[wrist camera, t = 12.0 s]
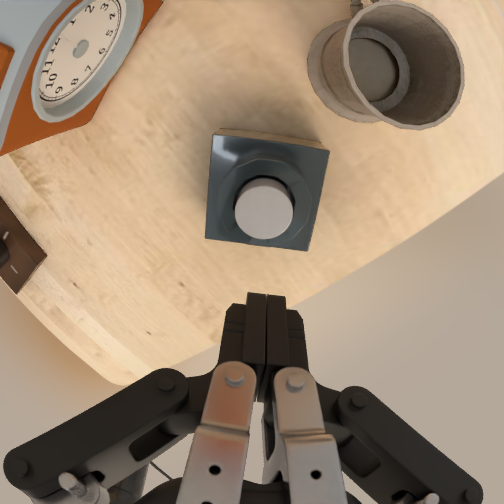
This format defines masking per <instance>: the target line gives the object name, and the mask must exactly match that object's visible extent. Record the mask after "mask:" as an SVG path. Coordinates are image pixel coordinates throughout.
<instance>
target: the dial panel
mask: <svg viewBox="0 0 504 504" xmlns="http://www.w3.org/2000/svg"><path fill="white" fill-rule="evenodd" d="M0 239H1V240H2V241H3V242H4V244H5V245H6V247H7V250H8V253H9V260H8V262H7V263H6V264H5V265H4V266H3V267H2V268H1V269H0V276H1V278H2V279H3V280H4V281H5V282H6V283H7V285H8V286H9V287H10V288H11V289H12V290H13V291H14V293H15V294H16V295H17V294H18V293H19V291H20V290H21V289H22V288H23V287H24V286H25V285H26V283H27V282H28V280H29V279H30V278H31V276H32V275H33V274H34V272H35V271H36V270H37V268H38V267H39V266H40V264H41V263H42V262H43V261H44V259H45V258H46V257H47V255H46V254H45V253H44V252H43V250H42V249H41V248H40V247H39V246H38V245H37V243H36V242H35V241H34V240H33V239H32V237H31V236H30V235H29V234H28V232H27V231H26V230H25V229H24V227H23V226H22V225H21V224H20V222H19V221H18V220H17V218H16V217H15V216H14V215H13V213H12V212H11V211H10V209H9V208H8V207H7V205H6V204H5V202H4V201H3V200H2V198H1V197H0Z"/></svg>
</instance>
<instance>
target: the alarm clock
mask: <svg viewBox="0 0 504 504" xmlns="http://www.w3.org/2000/svg"><path fill="white" fill-rule="evenodd" d="M162 3H163V1H162V0H0V156H2V155H4V154H7V153H9V152H11V151H14V150H16V149H18V148H21V147H23V146H26V145H28V144H31V143H34V142H36V141H39V140H41V139H44V138H47V137H50V136H53V135H55V134H58V133H61V132H64V131H67V130H70V129H73V128H77V127H80V126H83V125H85V124H87V123H88V122H89V121H90V120H91V118H92V117H93V115H94V113H95V111H96V109H97V107H98V105H99V103H100V101H101V99H102V97H103V95H104V93H105V92H106V90H107V88H108V86H109V84H110V82H111V81H112V79H113V77H114V75H115V73H116V72H117V70H118V69H119V67H120V66H121V64H122V63H123V61H124V60H125V58H126V56H127V54H128V53H129V51H130V49H131V47H132V46H133V44H134V42H135V41H136V39H137V38H138V36H139V35H140V33H141V32H142V31H143V29H144V28H145V26H146V25H147V23H148V22H149V21H150V19H151V18H152V16H153V15H154V14H155V12H156V11H157V10H158V8H159V7H160V6H161V4H162Z"/></svg>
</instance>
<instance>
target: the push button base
mask: <svg viewBox="0 0 504 504" xmlns="http://www.w3.org/2000/svg"><path fill="white" fill-rule="evenodd" d="M329 153H330V151H329V150H328V149H327V148H326V147H325V146H324V145H323V144H322V143H321V142H317V141H312V140H306V139H300V138H294V137H288V136H281V135H275V134H267V133H260V132H252V131H243V130H234V129H225V128H220V129H219V130H217V131H216V132H215V133H214V134H213V136H212V147H211V158H210V170H209V182H208V196H207V211H206V226H205V238H206V239H213V240H221V241H229V242H237V243H245V244H249V245H257V246H264V247H276V248H284V249H292V250H299V251H308V249H309V245H310V241H311V237H312V232H313V228H314V224H315V219H316V215H317V210H318V206H319V201H320V197H321V192H322V187H323V183H324V178H325V173H326V168H327V163H328V158H329ZM258 178H270V179H273V180H276V181H278V182H279V183H281V184H282V185H283V186H284V187H285V188H286V189H287V191H288V193H289V195H290V199H291V203H292V208H293V217H292V221H291V223H290V225H289V227H288V228H287V229H286V230H285V231H284V232H283V233H282V234H280V235H279V236H277V237H274V238H271V239H258V238H254V237H251V236H249V235H248V234H246V233H245V232H244V231H243V230H242V229H241V228H240V227H239V225H238V224H237V221H236V218H235V206H236V202H237V198H238V195H239V192H240V190H241V189H242V188H243V187H244V185H246V184H247V183H248V182H250V181H252V180H254V179H258Z"/></svg>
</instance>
